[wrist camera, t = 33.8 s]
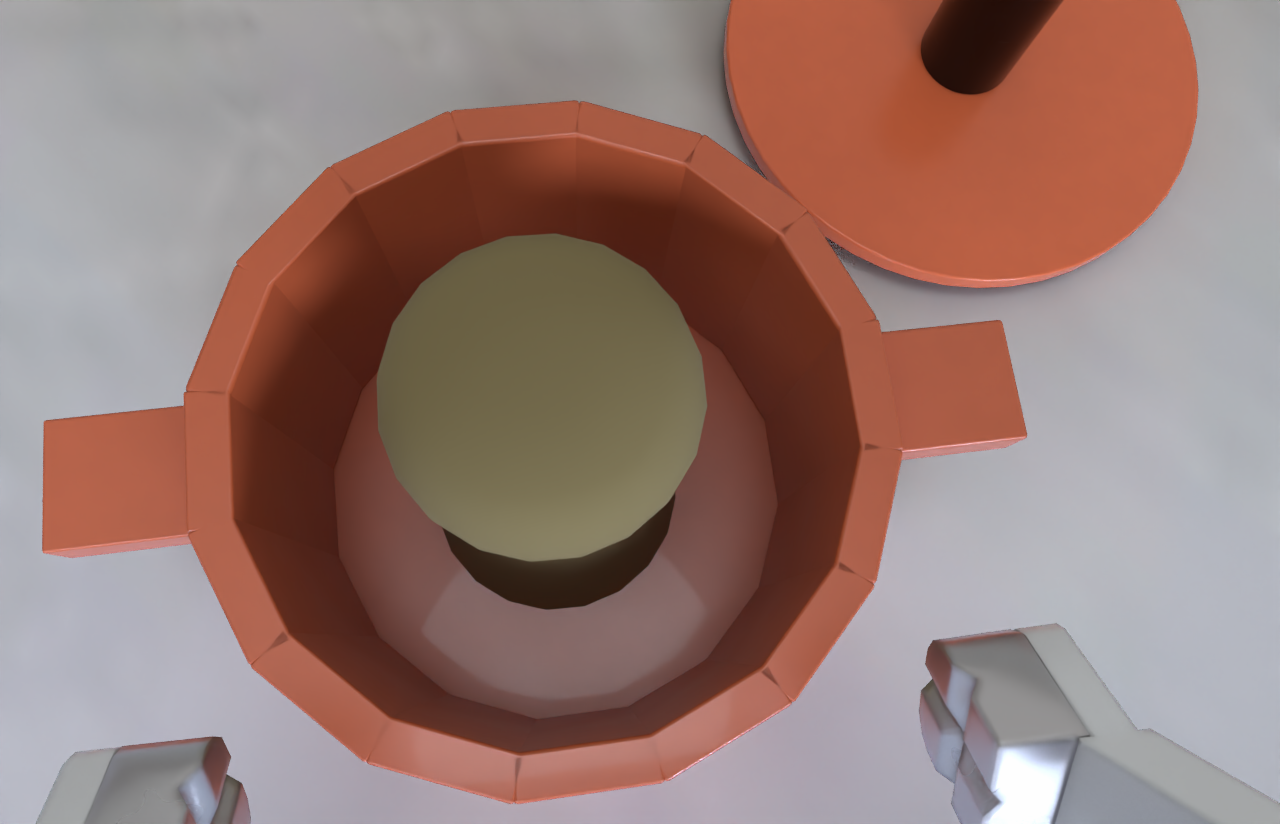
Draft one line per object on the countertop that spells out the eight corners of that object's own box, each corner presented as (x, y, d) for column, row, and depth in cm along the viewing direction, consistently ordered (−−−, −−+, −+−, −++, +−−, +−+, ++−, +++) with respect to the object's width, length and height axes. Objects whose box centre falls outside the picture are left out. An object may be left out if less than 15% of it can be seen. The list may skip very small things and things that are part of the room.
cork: (721, 526, 25) (831, 435, 14) (513, 658, 23) (460, 668, 13) (595, 331, 26) (608, 106, 15) (391, 449, 24) (246, 298, 14)
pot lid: (688, -101, 29) (711, -263, 24) (1110, -132, 31) (1220, -291, 25) (761, 322, 26) (807, 242, 21) (1227, 269, 28) (1379, 181, 22)
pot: (192, 295, 26) (25, 143, 18) (854, 231, 27) (964, 66, 19) (205, 798, 23) (12, 877, 15) (942, 695, 24) (1112, 719, 17)
